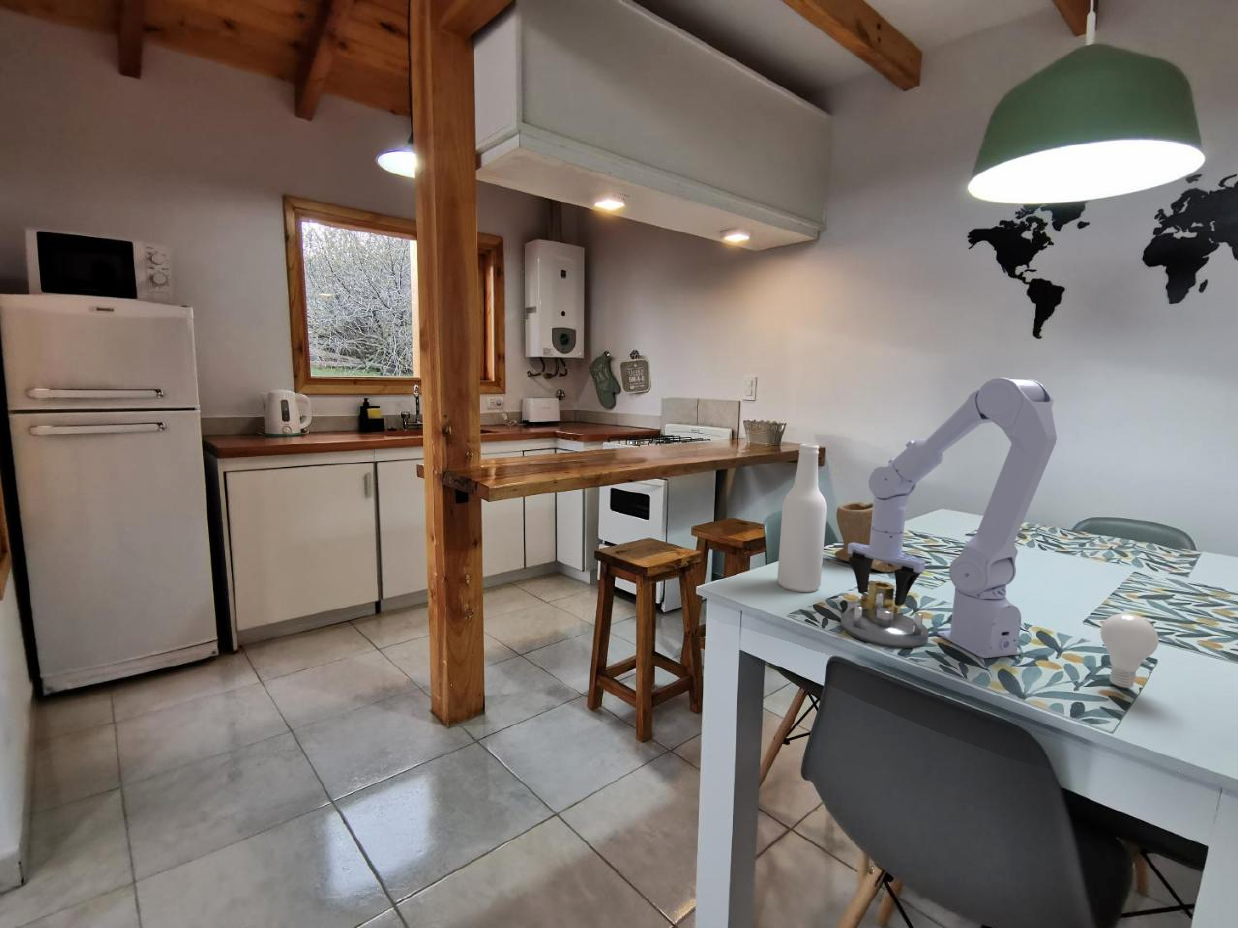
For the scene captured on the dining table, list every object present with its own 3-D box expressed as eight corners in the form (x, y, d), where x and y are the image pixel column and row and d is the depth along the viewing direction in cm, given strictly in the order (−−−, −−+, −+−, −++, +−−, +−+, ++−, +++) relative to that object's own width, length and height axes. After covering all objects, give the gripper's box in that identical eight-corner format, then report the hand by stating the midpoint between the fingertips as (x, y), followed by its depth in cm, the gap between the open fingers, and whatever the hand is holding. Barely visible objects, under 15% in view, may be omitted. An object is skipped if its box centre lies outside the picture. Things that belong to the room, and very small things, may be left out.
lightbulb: (1158, 702, 83) (1170, 627, 82) (1102, 692, 85) (1113, 619, 84) (1138, 681, 89) (1149, 611, 87) (1086, 672, 91) (1096, 603, 90)
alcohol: (829, 589, 125) (841, 446, 121) (800, 595, 121) (811, 448, 116) (796, 576, 133) (807, 441, 128) (768, 582, 128) (777, 443, 124)
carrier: (947, 643, 100) (950, 617, 99) (876, 651, 96) (879, 623, 96) (888, 612, 113) (891, 588, 113) (824, 617, 110) (826, 593, 109)
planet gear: (908, 612, 113) (911, 590, 113) (876, 615, 111) (878, 592, 111) (882, 599, 120) (884, 577, 120) (851, 601, 118) (853, 579, 118)
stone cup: (821, 559, 147) (826, 499, 144) (855, 554, 152) (860, 496, 150) (873, 578, 133) (879, 512, 131) (908, 571, 139) (915, 508, 137)
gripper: (936, 535, 110) (928, 606, 112) (864, 519, 122) (858, 583, 124) (916, 540, 106) (908, 613, 108) (843, 523, 118) (838, 589, 120)
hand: (880, 598), depth 116 cm, fingers open, 7 cm apart
